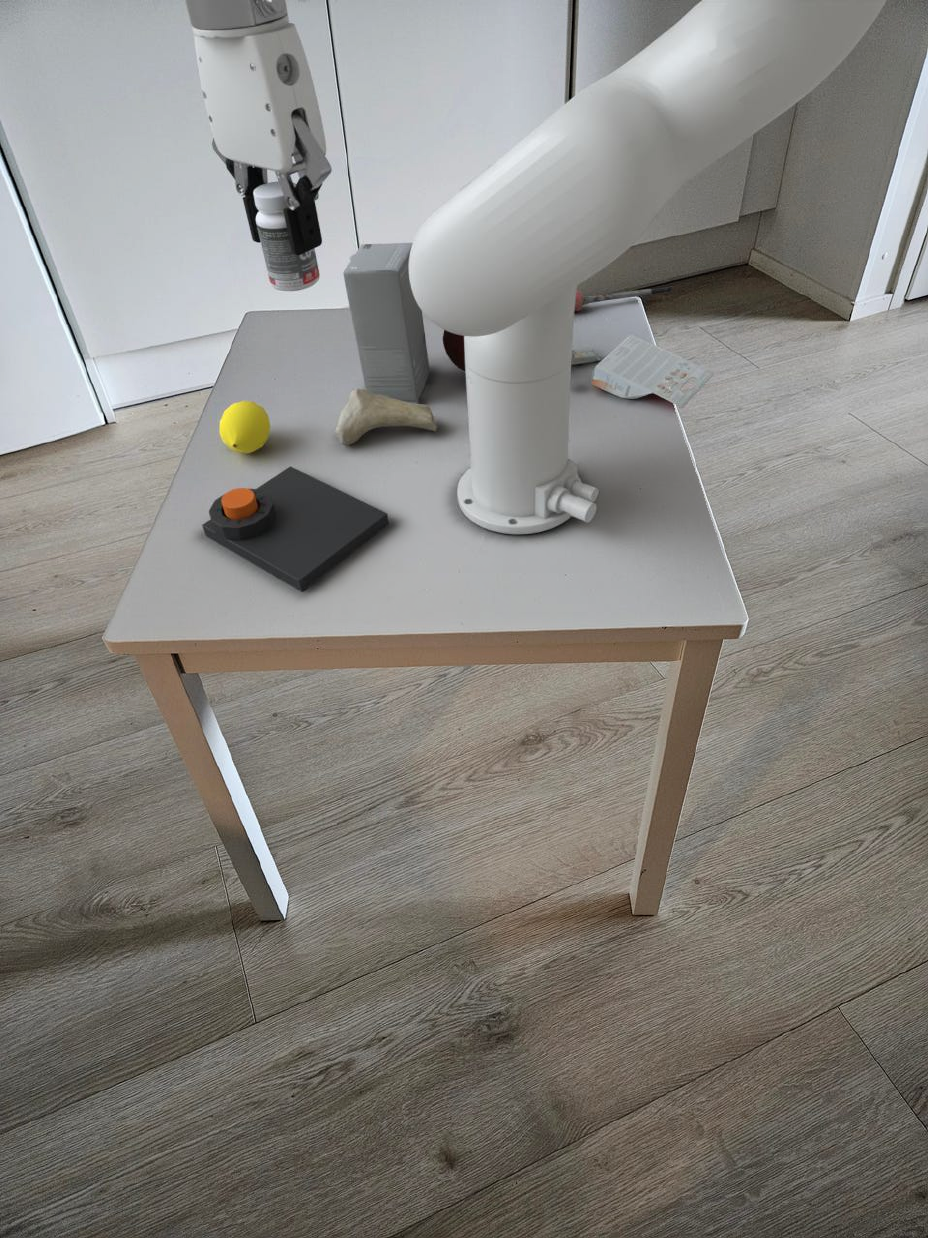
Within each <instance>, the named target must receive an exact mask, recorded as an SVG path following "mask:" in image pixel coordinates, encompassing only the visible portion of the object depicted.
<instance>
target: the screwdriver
mask: <svg viewBox="0 0 928 1238" xmlns="http://www.w3.org/2000/svg"><path fill="white" fill-rule="evenodd" d="M672 291H673V286H665V287H664V286H663V287H656V288H646V289H645V288H644V289H638V290H631V291H622V292H615V293H607V294H597V295H596V294H595V295H582V292H581V291H580V290H577V292H576V300H575V310H574V312H581V311H582V310H583V306H585V305H588V304H593V303H599V302H606V301H612V300H613V301H614V300H619V299H620V300H621V299H626V298H627V299H628V298H634V297H643V296H649V295H650V296H651V295H653V294H662V293H668V292H672Z"/></svg>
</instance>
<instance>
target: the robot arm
mask: <svg viewBox="0 0 928 1238" xmlns="http://www.w3.org/2000/svg"><path fill="white" fill-rule="evenodd" d="M184 1H185V6H186V9H187V12H188V17H189V22H190V25H191V28H192V33H193V40H194V48H195V55H196V64H197V68H198V76H199V80H200V81H199V82H200V86H201V91H202V96H203V101H204V106H205V111H206V114H207V119H208V123H209V126H210V131H211V134H212V142H211V147H212V150H213V151H214V153H215V154H216V155H217V156H218V157H219V159H221V161H222V162H223V163H224V165H225V168H226V169H227V171H228V172H229V174H230V176H232V178H233V180H234V181H235V183H234V184H235V189H236V192H237V193H238V195H239V196H241V197H242V201H243V206H244V210H245V215H246V218H247V222H248V227H249V231H250V235H251V239H252V241H253V242H254V243H258V244H261V241H260V237H259V233H258V229H257V225H256V215H257V213H258V212H259V210H258V209H257V207H256V205H255V200H254V195H253V191H254V190H255V189H256V188H257V187H259V186H261V185H263V184H266V183H269V181H268V180H269V179H268V171H270V172H274V173H275V175H276V178H277V181H279V184H280V187H281V190H282V192H283V195H284V198H285V201H286V203H287V206H288V207H287V208H285V209H283V211H284V217H285V221H286V226H287V231H288V236H289V240H290V245H291V250H292V252H293V254H295V255H301V254H304V253H306V252H308V251H310V250H312V249H314V248H315V249H316V248H318V247H320V246H321V245H322V244H323V238H322V232H321V226H320V221H319V215H318V210H317V205H316V201H317V200H319V191H320V190H321V188H322V186H323V183H324V182H325V181H326V179H327V178H329V176H330V175H331V173H332V170H333V169H332V165H331V164H330V162H329V160H328V158H327V157H326V155H327V141H326V136H325V130H324V126H323V121H322V116H321V111H320V105H319V100H318V97H317V93H316V89H315V84H314V80H313V77H312V73H311V70H310V66H309V63H308V59H307V55H306V53H305V50H304V46H303V44H302V40H301V38H300V34H299V33H298V29H297V27H296V24H295V23H292V22H290V19H289V12H288V8H287V2H286V0H184ZM886 3H887V0H700V1H699V2H698V3H697V4H696V5H694V6H693V7H692V8H691V9H690V10H689V11H688V12H687V13H686V14H685V15H683V17H681V18H680V20H678V22H676V23H674V25H672V26H671V27H670V28H668V29H667V30H666V31H665V32H664V33H662V34H661V35H660V36H658V37H657V38H656V39H655V40H653V41H652V42H651V43H650V44H648V45H647V46H646V47H644V48H643V50H641V51H640V52H638V53H637V54H636V55H635V56H632V58H630V59H629V60H627V61H626V62H625V63H624V64H621V66H620V67H618V68H617V69H615V70H614V71H612V72H611V73H609V74H608V75H606V76H604V77H602V78H600V79H599V80H597V81H595V82H593V83H591V84H590V85H588V86H587V87H585V88H583V89H582V90H581V91H579V92H578V93H577V94H575V95H574V96H573V97H571V98H570V99H569V100H568V101H567V102H565V104H563V105H562V106H561V107H560V108H558V109H557V110H556V111H555V112H553V113H551V115H550V116H549V117H547V118H546V119H545V120H544V121H543V122H541V123H540V124H539V125H538V126H537V127H536V128H535V129H533V130H532V131H530V132H529V133H528V134H527V135H526V136H525V137H524V138H523V139H521V140H520V141H519V142H518V143H516V144H515V145H514V146H513V147H512V148H510V149H509V150H508V151H507V152H506V153H504V154H503V155H502V156H501V157H500V158H499V159H497V160H496V161H495V162H493V163H492V164H491V165H488V166H487V167H486V168H484V169H483V170H482V171H480V172H479V173H478V174H477V175H475V177H474V178H472V179H471V180H470V181H469V182H467V183H466V184H465V185H463V186H462V187H461V188H460V189H459V190H458V191H457V192H456V193H455V194H454V195H453V196H452V197H451V198H449V199H448V200H447V201H446V202H444V203H443V204H442V205H441V206H440V207H438V208H437V209H436V210H434V211H433V212H432V213H431V214H430V215H429V216H428V217H427V218H426V219H425V221H424V222H423V223H422V224H421V226H420V227H419V229H418V231H417V232H416V234H415V237H414V238H413V241H412V243H413V244H412V247H411V251H410V256H409V280H410V285H411V289H412V292H413V295H414V298H415V300H416V302H417V304H418V306H419V307H420V309H421V310H422V314H423V315H425V316H426V318H427V319H429V321H430V322H432V323H433V324H434V325H435V326H437V327H439V328H440V329H442V330H443V331H444V330H446V331H448V332H451V333H454V334H457V335H462V336H464V348H465V371H466V372H465V387H466V402H467V404H466V405H467V420H468V421H467V423H468V438H469V454H470V467H469V468H468V469H467V470H466V471H465V472H464V473H463V475H462V476H461V477H460V479H459V482H458V484H457V490H456V491H457V492H456V495H457V502H458V505H459V508H460V510H461V511H462V513H463V515H464V516H465V517H466V518H467V519H469V520H470V521H471V522H472V523H474V524H476V525H477V526H480V528H483V529H486V530H489V531H491V532H495V533H499V534H507V535H530V534H536V533H541V532H544V531H548V530H552V529H554V528H555V527H558V526H560V525H562V524H563V523H565V522H567V521H568V520H569V519H571V518H572V517H573V518H575V519H578V520H580V521H582V522H584V523H590V522H591V521H592V520H593V519H594V517H595V515H596V513H597V504H596V503H595V501H596V500H597V498H598V496H599V488H597V487H595V486H592V485H590V484H587V483H583V482H582V479H581V478H580V476H579V474H578V462H577V461H575V460H572V459H570V458H569V439H570V437H569V434H570V409H571V408H570V407H571V382H572V381H571V378H572V377H571V376H572V365H571V359H572V350H573V344H574V343H573V341H574V323H575V311H574V310H575V300H576V292H577V291H578V286H579V285H580V284H581V283H583V282H585V281H587V280H588V279H590V278H591V277H592V276H594V275H596V274H597V273H599V272H600V271H602V270H603V269H604V268H606V267H608V266H609V265H610V264H611V263H613V262H614V261H615V260H616V259H618V258H620V257H621V256H622V255H623V254H625V253H626V252H627V251H628V250H629V249H630V248H631V247H632V246H634V244H636V242H637V241H638V240H639V239H640V238H641V237H642V236H643V235H644V233H645V232H646V231H647V230H648V228H649V227H650V226H651V225H652V224H653V223H654V221H655V220H656V219H657V217H658V215H659V214H660V213H661V212H662V211H663V210H664V208H665V207H666V206H667V204H669V202H670V201H671V200H672V198H673V197H674V196H675V195H676V194H677V192H679V190H680V189H681V188H682V187H683V186H685V184H687V183H688V182H689V181H690V180H692V179H693V178H694V177H696V176H697V175H698V174H700V173H701V172H702V171H704V170H705V169H706V168H708V167H710V165H712V164H713V163H715V162H717V161H719V159H721V158H722V157H724V156H725V155H727V154H728V153H730V152H731V151H733V150H734V149H736V148H737V147H738V146H740V145H741V144H743V143H744V142H746V141H747V140H748V139H750V138H751V137H752V136H753V135H754V134H756V133H757V132H759V131H760V130H761V129H763V128H764V127H766V126H768V125H769V124H770V123H772V122H773V121H775V120H776V119H777V118H779V117H780V116H781V115H782V114H784V113H785V112H787V111H788V110H789V109H791V108H792V107H793V106H795V105H796V104H797V103H798V102H800V101H801V100H802V99H804V97H806V96H807V95H808V94H809V93H811V92H812V91H813V90H814V89H815V88H816V87H818V86H819V85H820V84H821V83H822V82H824V80H825V79H826V78H827V77H829V76H830V75H831V73H832V72H833V71H835V70H836V69H837V67H839V65H840V64H841V63H842V62H843V61H844V60H845V59H846V58H847V57H848V56H849V55H850V53H851V52H852V51H853V50H854V48H855V47H856V46H857V45H858V43H859V42H860V41H861V40H862V38H863V37H864V36H865V34H866V33H867V32H868V30H869V29H870V28H871V26H872V24H873V23H874V22H875V20H876V18H877V17H878V16H879V14H880V13H881V10H883V8H884V6H885V5H886ZM293 159H294V162H293ZM296 173H297V175H298V180H297V181H296V183H295V184H296V186H295V187H294V185H293V183H294V181H293V180H292V175H293V174H296Z"/></svg>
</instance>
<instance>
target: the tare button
mask: <svg viewBox="0 0 928 1238" xmlns="http://www.w3.org/2000/svg"><path fill="white" fill-rule="evenodd" d="M250 489H251V488H246V487H237V488H233V489H231V490H229V491H227V492H226V493H224V494H225V495H224V494H223V495H224V496H223V497H222V500H221V502H222V505H223V508H224V512H225V515H226V516H227V517H228V518H229V519H234V520H240V519H244V518H248V517H250V516H252V515H253V514H255V513H256V512H257V510H258V505H257V502H256V498H255V495H254V492H253V491H252V490H250Z"/></svg>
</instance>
